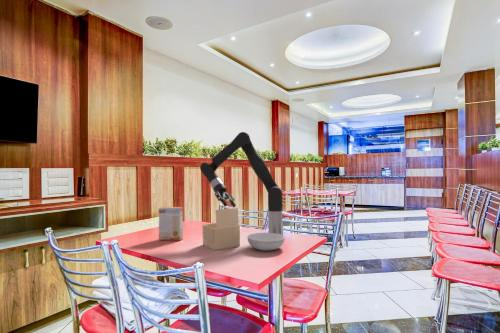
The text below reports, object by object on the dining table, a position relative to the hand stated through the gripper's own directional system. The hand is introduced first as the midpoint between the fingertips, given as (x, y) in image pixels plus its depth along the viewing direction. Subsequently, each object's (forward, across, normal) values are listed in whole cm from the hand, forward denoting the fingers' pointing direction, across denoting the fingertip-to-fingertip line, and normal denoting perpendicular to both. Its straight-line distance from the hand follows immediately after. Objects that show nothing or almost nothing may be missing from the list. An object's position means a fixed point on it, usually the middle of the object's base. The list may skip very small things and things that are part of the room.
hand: (230, 206), depth 174 cm
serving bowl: (+34, +4, -2) cm, 34 cm away
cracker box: (-8, -11, +44) cm, 46 cm away
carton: (+16, -5, +17) cm, 24 cm away
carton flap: (+9, -10, 0) cm, 14 cm away
